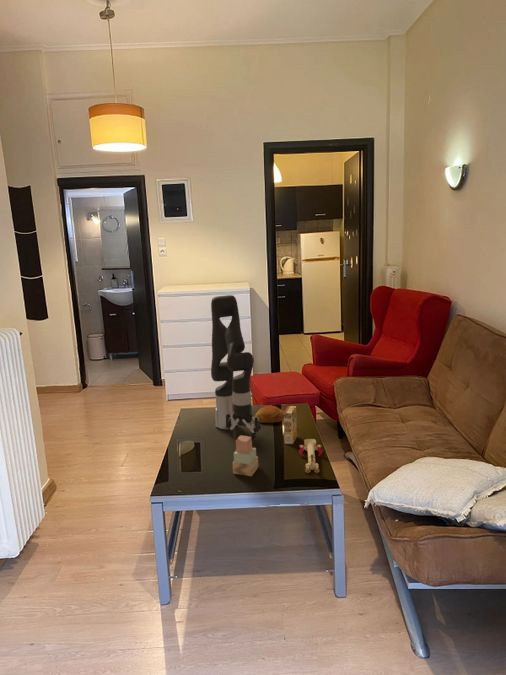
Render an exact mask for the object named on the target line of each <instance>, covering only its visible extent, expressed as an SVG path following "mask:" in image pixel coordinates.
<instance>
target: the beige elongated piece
mask: <svg viewBox="0 0 506 675" xmlns="http://www.w3.org/2000/svg"><path fill="white" fill-rule="evenodd" d="M303 441H304V442H303V444H299V448H300V449H298V452H299V453H298V454H300V456H302V457H304V458H305V455H304V453H303V452H304V451H306V452H307V461H308V463H306V464H305V469H304V471H305V473H306V474H309V473H311V472H312V471H313V472H314V473H315V474H319V473H320V469H319V463H317V462H316V457H321V456H322V454H323V449H322V445H321V444H317V440H316V439H315V438H306V439H304V440H303ZM315 451H317V452H318V454H317V456H316V455H315ZM311 470H312V471H311Z"/></svg>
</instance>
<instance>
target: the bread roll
mask: <svg viewBox="0 0 506 675" xmlns="http://www.w3.org/2000/svg"><path fill="white" fill-rule="evenodd" d="M257 416H259V417H260V424H263V423H267V424H268V423H271V424H272V423H279V422H282V421H284V410H282V409H280V408H279V407H277V406H275V405H267V406H262V407H260V408H259V409H258V411H257V412H256V413H255V414H254V417H257Z"/></svg>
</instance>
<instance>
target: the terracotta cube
mask: <svg viewBox="0 0 506 675" xmlns="http://www.w3.org/2000/svg"><path fill="white" fill-rule="evenodd" d="M252 448H253V441H251V436H248V435H239V436H238V437H237V438H236V440H235V451H236V452H242V453H248V452H249V451H250V450H251V449H252Z"/></svg>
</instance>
